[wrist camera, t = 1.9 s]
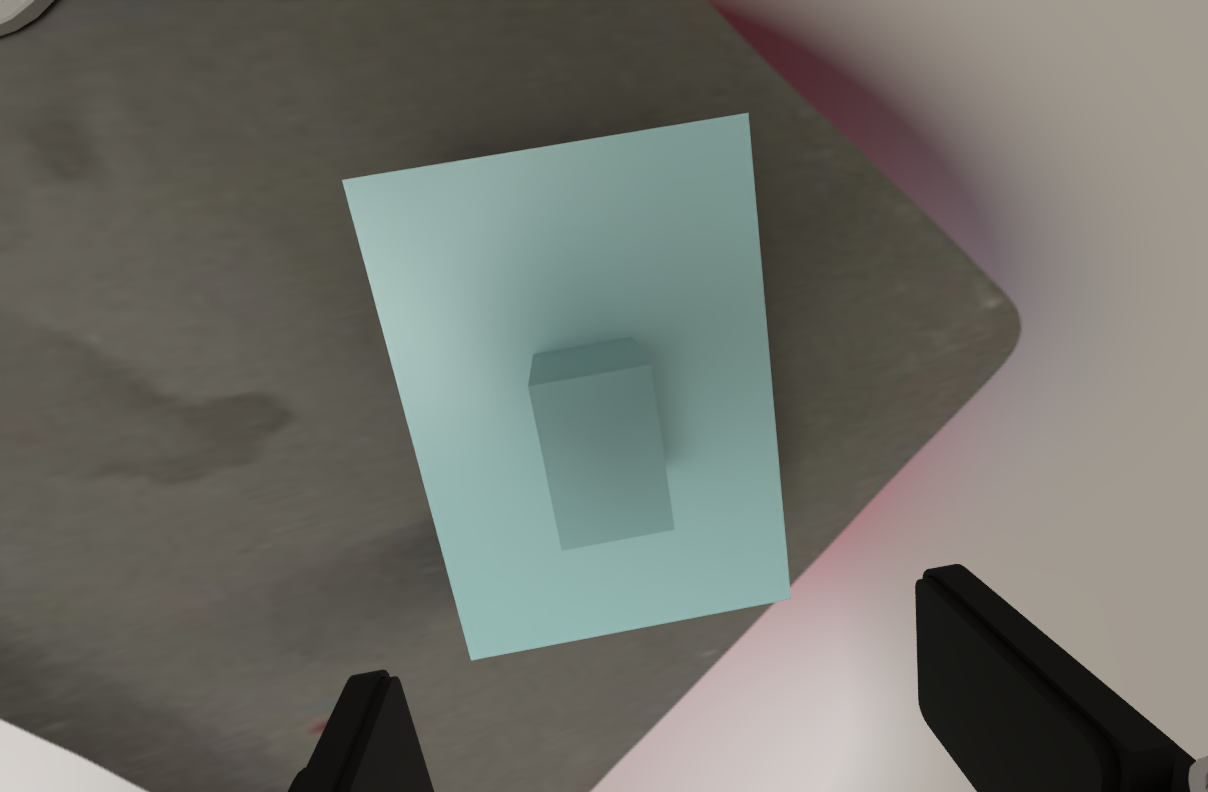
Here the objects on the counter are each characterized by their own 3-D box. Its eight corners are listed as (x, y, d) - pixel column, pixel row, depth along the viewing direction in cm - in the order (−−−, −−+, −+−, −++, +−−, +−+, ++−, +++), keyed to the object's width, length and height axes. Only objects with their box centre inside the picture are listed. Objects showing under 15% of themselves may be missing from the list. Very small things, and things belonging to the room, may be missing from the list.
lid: (352, 182, 23) (283, 167, 17) (738, 118, 24) (801, 82, 18) (474, 643, 29) (454, 751, 23) (781, 584, 30) (839, 675, 24)
